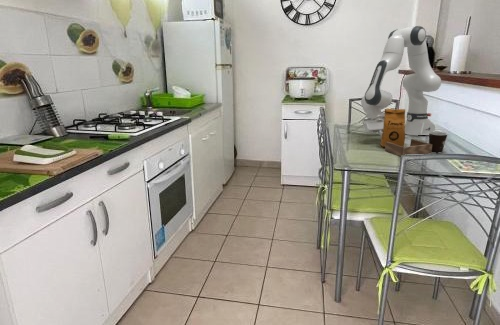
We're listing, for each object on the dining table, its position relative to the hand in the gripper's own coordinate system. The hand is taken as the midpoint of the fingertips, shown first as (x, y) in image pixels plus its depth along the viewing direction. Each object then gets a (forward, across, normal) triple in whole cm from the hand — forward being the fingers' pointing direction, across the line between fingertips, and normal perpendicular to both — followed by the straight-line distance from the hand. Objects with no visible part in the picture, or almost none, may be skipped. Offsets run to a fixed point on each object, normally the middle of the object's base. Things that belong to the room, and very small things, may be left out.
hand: (384, 137), depth 195 cm
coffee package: (+8, 0, -1) cm, 8 cm away
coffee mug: (+20, +16, -13) cm, 29 cm away
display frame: (+16, 0, -10) cm, 19 cm away
